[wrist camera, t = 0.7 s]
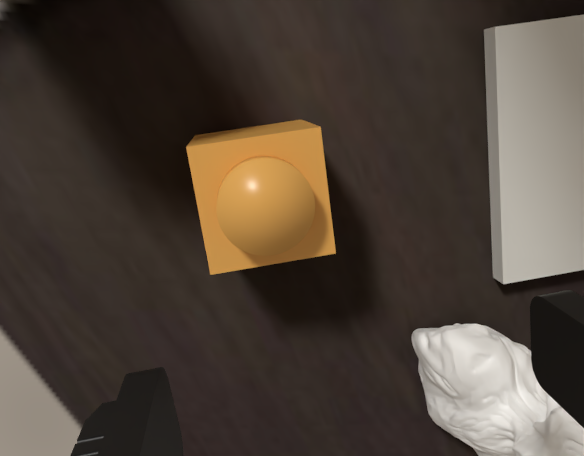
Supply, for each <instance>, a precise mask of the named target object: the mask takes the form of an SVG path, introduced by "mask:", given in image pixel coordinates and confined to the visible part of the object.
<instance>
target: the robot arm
mask: <svg viewBox="0 0 584 456" xmlns="http://www.w3.org/2000/svg"><path fill="white" fill-rule="evenodd" d="M530 325H531V363H532V368H533V371H534V374H535V377H536V379H537V381H538V383H539V384H540V386H541V387H542V389H543V390H544V391H545V392H546V393H547V394H548V395H549V396H550V397H552V398H553V399H554V400H555V401H556V402H557V403H558V404H559V405H560V406H561V407H562V408H563V409H564V410H565V411H566V412H567V413H568V414H569V415H570V416H571V417H572V418H573V419H574V420H576V421H577V422H578V423H579V424H580V425H581V426H582V427H583V428H584V297H582V296H581V295H579V294H577V293H575V292H574V291H571V290H566V291H561V292H556V293H551V294H546V295H540V296H536V297H534V298H533V299H532V301H531V305H530ZM71 456H183V444H182V436H181V431H180V426H179V422H178V418H177V414H176V410H175V406H174V402H173V397H172V393H171V389H170V385H169V381H168V377H167V374H166V371H165V369H164V368H163V367H160V368H155V369H150V370H144V371H139V372H134V373H129V374H126V376H125V378H124V381H123V384H122V386H121V389H120V392H119V395H118V398H117V400H116V401H112V402H107V403H102V404H101V405H100V406H99V407H98V408H97V409H96V411H95V412H94V413H93V414H92V415H91V416H90V417H89V418H88V419H87V420H86V421H85V423H84V425H83V427H82V430H81V432H80V435H79V437H78V439H77V444H75V446H74V449H73V451H72V453H71Z"/></svg>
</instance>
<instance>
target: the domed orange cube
mask: <svg viewBox="0 0 584 456" xmlns="http://www.w3.org/2000/svg"><path fill="white" fill-rule="evenodd" d="M186 149H187V154H188V160H189V165H190V170H191V175H192V181H193V186H194V191H195V196H196V201H197V207H198V212H199V217H200V222H201V228H202V233H203V238H204V243H205V249H206V254H207V259H208V264H209V269H210V275H213V274H219V273H224V272H230V271H236V270H242V269H248V268H254V267H260V266H266V265H271V264H277V263H283V262H289V261H295V260H301V259H307V258H313V257H318V256H324V255H330V254H336V250H335V241H334V233H333V225H332V217H331V208H330V200H329V192H328V184H327V175H326V167H325V159H324V151H323V142H322V134H321V127H320V126H317V125H314V124H312V123H309V122H307V121H304V120H294V121H288V122H281V123H274V124H268V125H261V126H254V127H247V128H241V129H234V130H227V131H221V132H214V133H207V134H200V135H195V136H194V137H193V139H192V140H191V141H190V143H189V144H188V145H187V147H186Z"/></svg>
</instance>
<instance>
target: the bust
mask: <svg viewBox="0 0 584 456" xmlns="http://www.w3.org/2000/svg"><path fill="white" fill-rule="evenodd" d="M412 345H413V348H414V350H415V352H416V354H417V356H418V358H419V365H418V371H419V374H420V377H421V381H422V385H423V388H424V392H425V397H426V403H427V409H428V413H429V415H430V416H431V418H432V420H433V421H434V422H435V423H436V424H437V425H439V426H440V427H441V428H443V429H444V430H445V431H447V432H449V433H450V434H451V435H453V436H454V437H456V438H459V439H460V440H461V441H463V442H464V443H466V444H468V445H469V446H471V447H473V449H474V450H475V452H476V453H477V454H478V456H584V428H583V427H582V426H581V425H580V424H579V423H578V422H577V421H576V420H574V419H573V418H572V417H571V416H570V415H569V414H568V413H567V412H566V411H565V410H564V409H563V408H562V407H561V406H560V405H559V404H558V403H557V402H556V401H555V400H554V399H553V398H552V397H550V396H549V395H548V394H547V393H546V392H545V391H544V390H543V389H542V387H541V386H540V384H539V383H538V381H537V379H536V377H535V374H534V371H533V368H532V363H531V351H530V350H528V348H527V347H525V346H524V345H522V344H519V343H515V342H512V341H511V340H510V339H509V338H507V337H505V336H504V335H502V334H501V333H499V332H497V331H495V330H493V329H492V328H490V327H488V326H482V325H479V324H462V325H461V324H458V323H457V324H454V325H453V326H443V327H440V328H419V329H416V330H415V331H413V333H412Z"/></svg>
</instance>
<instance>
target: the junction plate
mask: <svg viewBox="0 0 584 456" xmlns="http://www.w3.org/2000/svg"><path fill="white" fill-rule="evenodd" d="M484 47H485V74H486V101H487V129H488V156H489V183H490V210H491V237H492V264H493V278H495V279H496V280H498V281H499V282H501V283H502V284H508V283H513V282H519V281H525V280H530V279H536V278H541V277H547V276H552V275H558V274H564V273H569V272H575V271H580V270H584V15H577V16H570V17H563V18H555V19H548V20H541V21H534V22H527V23H519V24H512V25H505V26H498V27H493V28H488V29H484Z"/></svg>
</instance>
